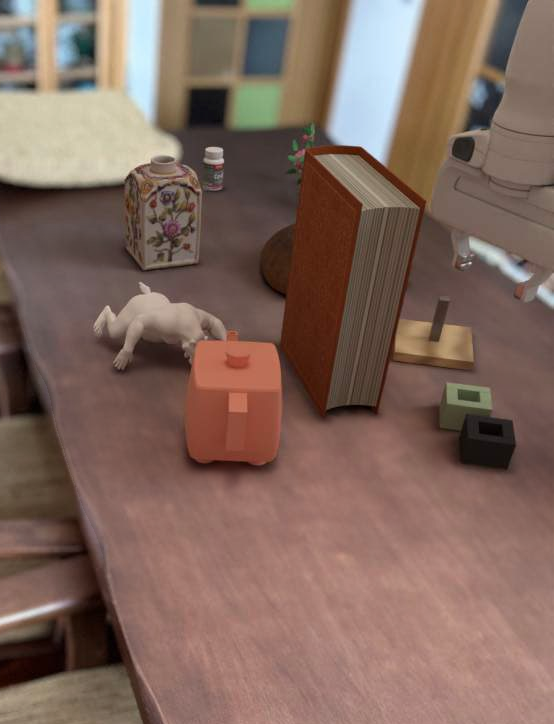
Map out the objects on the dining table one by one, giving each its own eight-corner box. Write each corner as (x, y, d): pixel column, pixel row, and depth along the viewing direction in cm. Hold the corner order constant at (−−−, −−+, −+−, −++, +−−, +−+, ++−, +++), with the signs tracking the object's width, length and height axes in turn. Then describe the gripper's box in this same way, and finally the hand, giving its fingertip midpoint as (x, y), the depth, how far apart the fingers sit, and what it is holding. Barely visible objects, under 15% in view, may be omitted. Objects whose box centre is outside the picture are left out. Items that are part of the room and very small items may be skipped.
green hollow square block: (482, 411, 119) (489, 387, 116) (484, 434, 114) (492, 409, 112) (439, 405, 120) (446, 381, 117) (439, 427, 116) (446, 403, 113)
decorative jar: (179, 242, 165) (183, 146, 154) (200, 264, 157) (205, 165, 145) (122, 248, 163) (121, 152, 151) (141, 272, 154) (141, 171, 142)
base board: (468, 335, 137) (482, 286, 131) (471, 370, 128) (486, 319, 122) (394, 326, 139) (405, 278, 133) (392, 360, 130) (404, 310, 124)
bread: (337, 237, 168) (345, 193, 163) (440, 285, 151) (452, 237, 146) (227, 266, 157) (230, 220, 151) (324, 322, 140) (333, 272, 134)
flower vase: (320, 263, 177) (274, 175, 197) (375, 244, 176) (324, 157, 196) (315, 216, 167) (268, 129, 187) (374, 196, 166) (320, 110, 186)
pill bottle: (215, 192, 188) (218, 153, 182) (198, 188, 190) (200, 150, 184) (226, 187, 191) (228, 148, 185) (208, 183, 193) (210, 145, 187)
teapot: (185, 397, 121) (189, 306, 112) (271, 400, 121) (283, 310, 111) (181, 487, 104) (185, 390, 95) (281, 492, 104) (295, 395, 95)
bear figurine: (83, 378, 132) (173, 388, 118) (71, 291, 127) (163, 292, 113) (158, 355, 142) (248, 362, 129) (149, 274, 137) (242, 273, 123)
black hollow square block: (503, 444, 113) (512, 420, 110) (507, 470, 108) (516, 444, 106) (458, 438, 114) (466, 413, 111) (459, 463, 109) (468, 437, 107)
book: (377, 414, 118) (426, 200, 98) (322, 419, 117) (361, 203, 97) (325, 339, 135) (358, 144, 115) (277, 343, 134) (302, 146, 114)
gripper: (637, 179, 79) (585, 313, 88) (478, 126, 93) (447, 247, 102) (593, 189, 77) (544, 326, 86) (436, 134, 90) (409, 257, 99)
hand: (491, 283), depth 94 cm, fingers open, 8 cm apart
